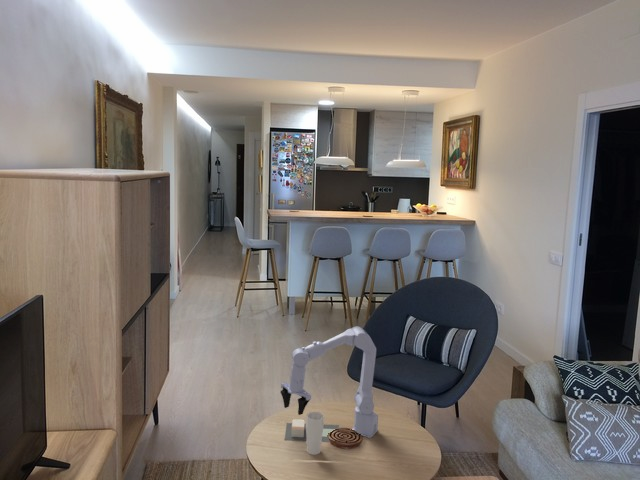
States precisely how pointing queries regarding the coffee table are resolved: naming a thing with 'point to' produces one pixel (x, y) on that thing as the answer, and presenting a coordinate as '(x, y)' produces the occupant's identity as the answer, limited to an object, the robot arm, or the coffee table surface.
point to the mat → (326, 430)
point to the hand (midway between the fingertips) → (293, 410)
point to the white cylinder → (314, 432)
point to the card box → (297, 428)
